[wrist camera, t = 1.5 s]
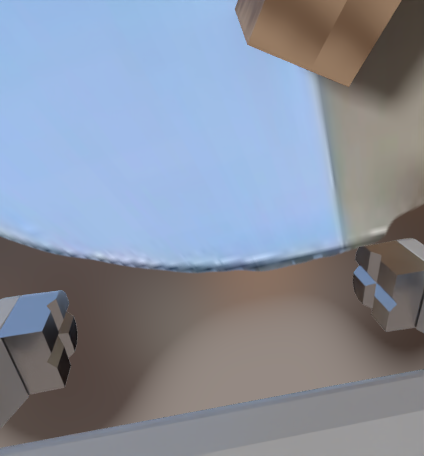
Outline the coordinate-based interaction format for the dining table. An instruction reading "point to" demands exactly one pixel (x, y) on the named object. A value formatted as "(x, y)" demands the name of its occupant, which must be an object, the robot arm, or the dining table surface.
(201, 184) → the dining table surface
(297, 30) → the wooden block with knobs
